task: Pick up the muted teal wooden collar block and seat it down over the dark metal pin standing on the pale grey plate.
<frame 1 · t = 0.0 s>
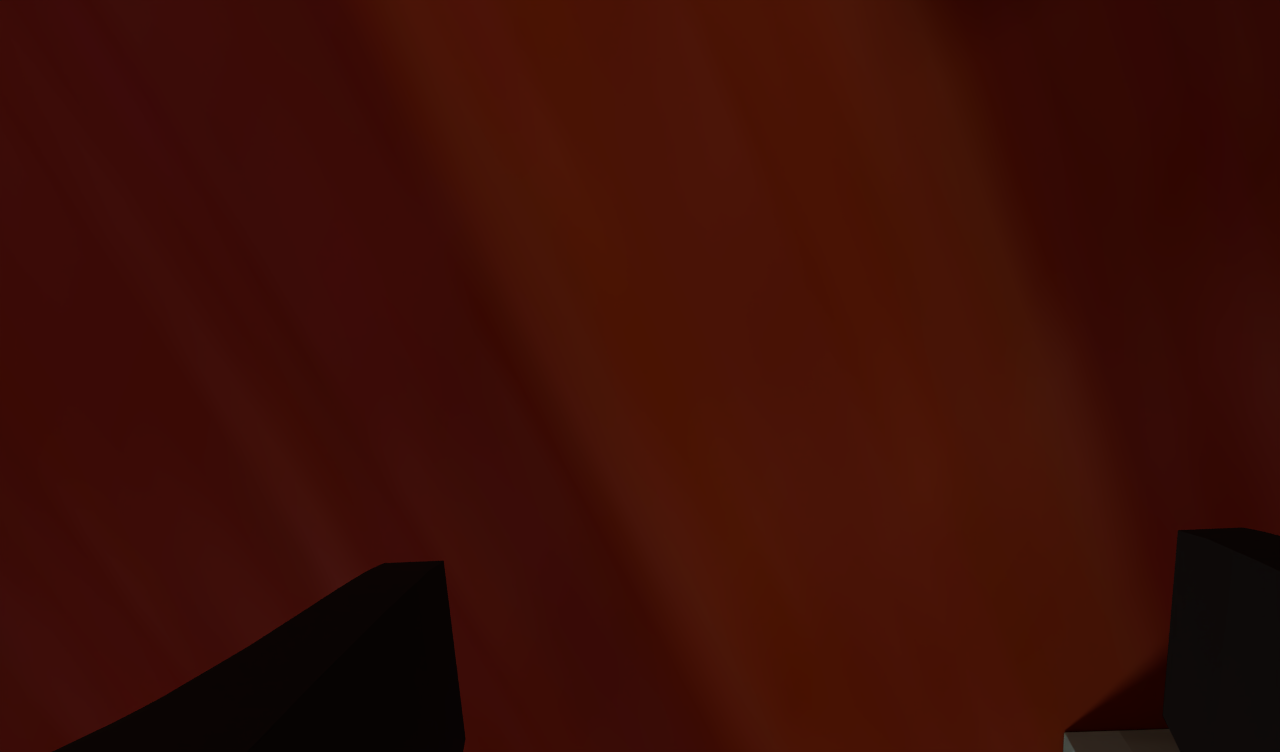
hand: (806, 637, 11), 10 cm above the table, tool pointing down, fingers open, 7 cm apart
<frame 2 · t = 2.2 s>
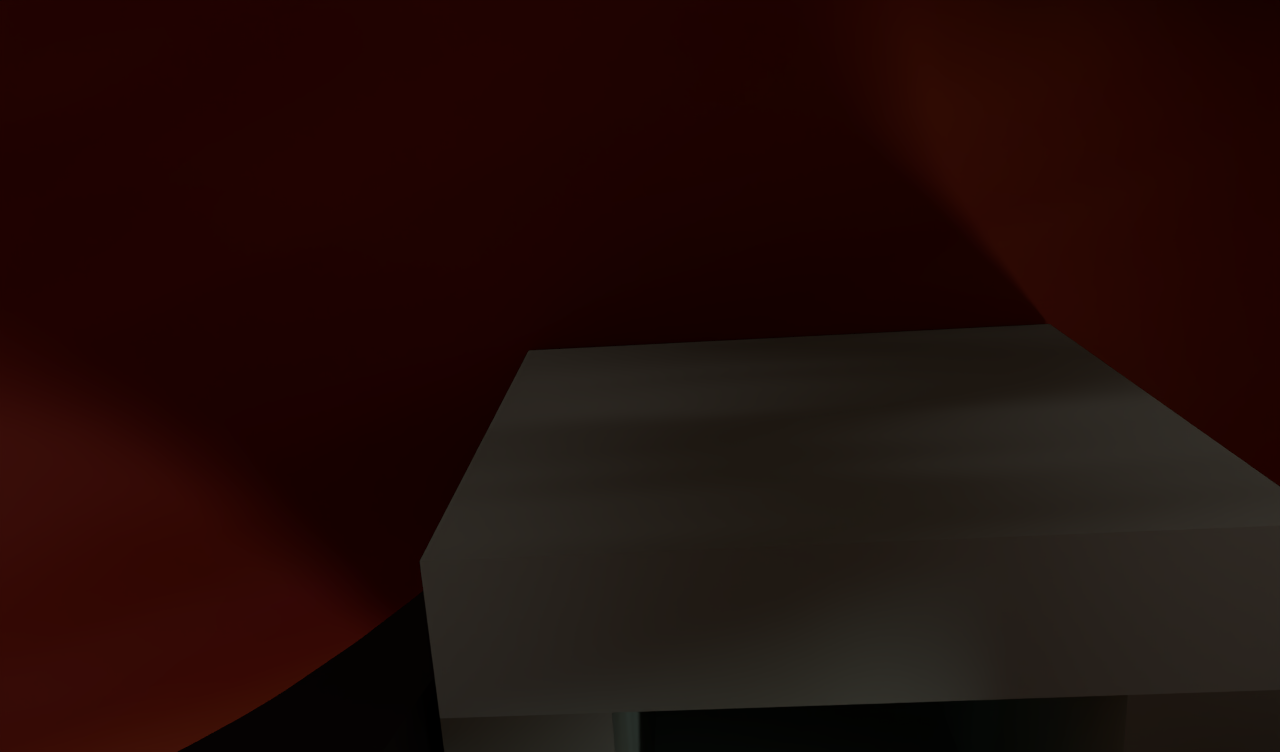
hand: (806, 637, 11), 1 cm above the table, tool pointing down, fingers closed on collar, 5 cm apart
collar: (791, 572, 12), on the table, touching gripper
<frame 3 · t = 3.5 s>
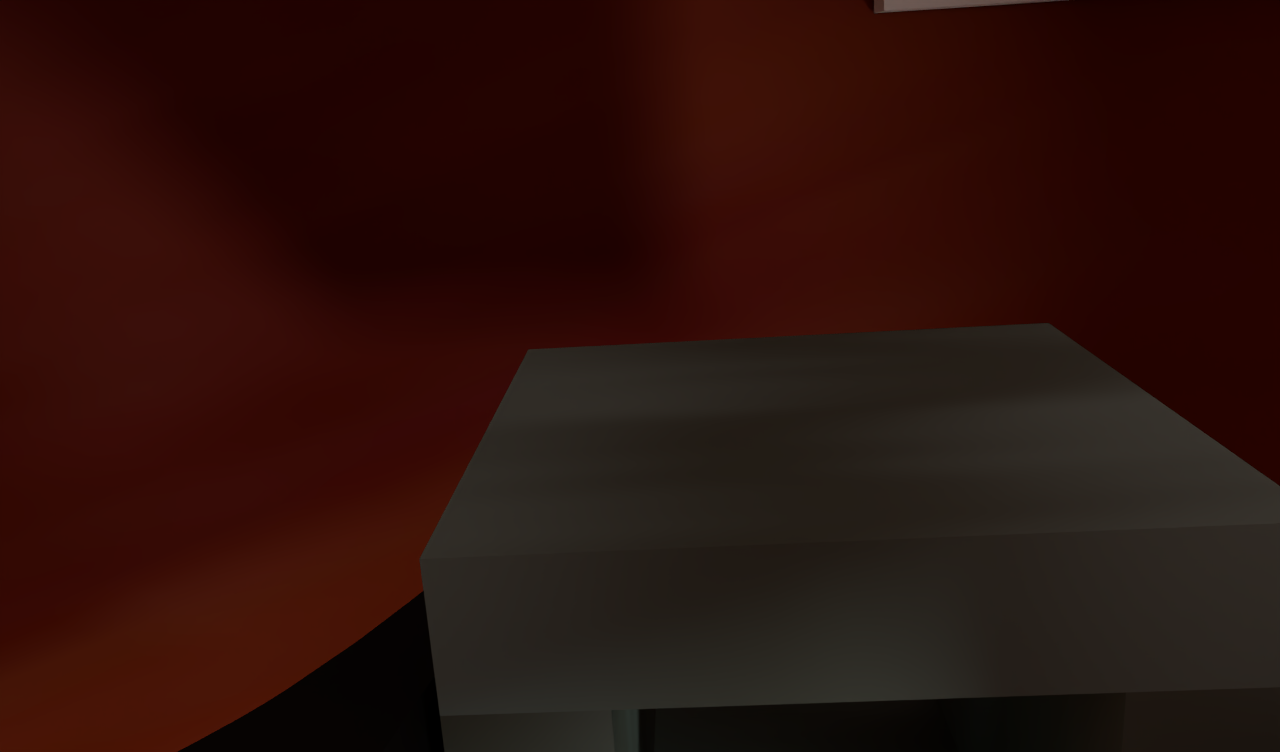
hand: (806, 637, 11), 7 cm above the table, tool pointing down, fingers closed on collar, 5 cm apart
collar: (791, 571, 12), point 6 cm above the table, touching gripper
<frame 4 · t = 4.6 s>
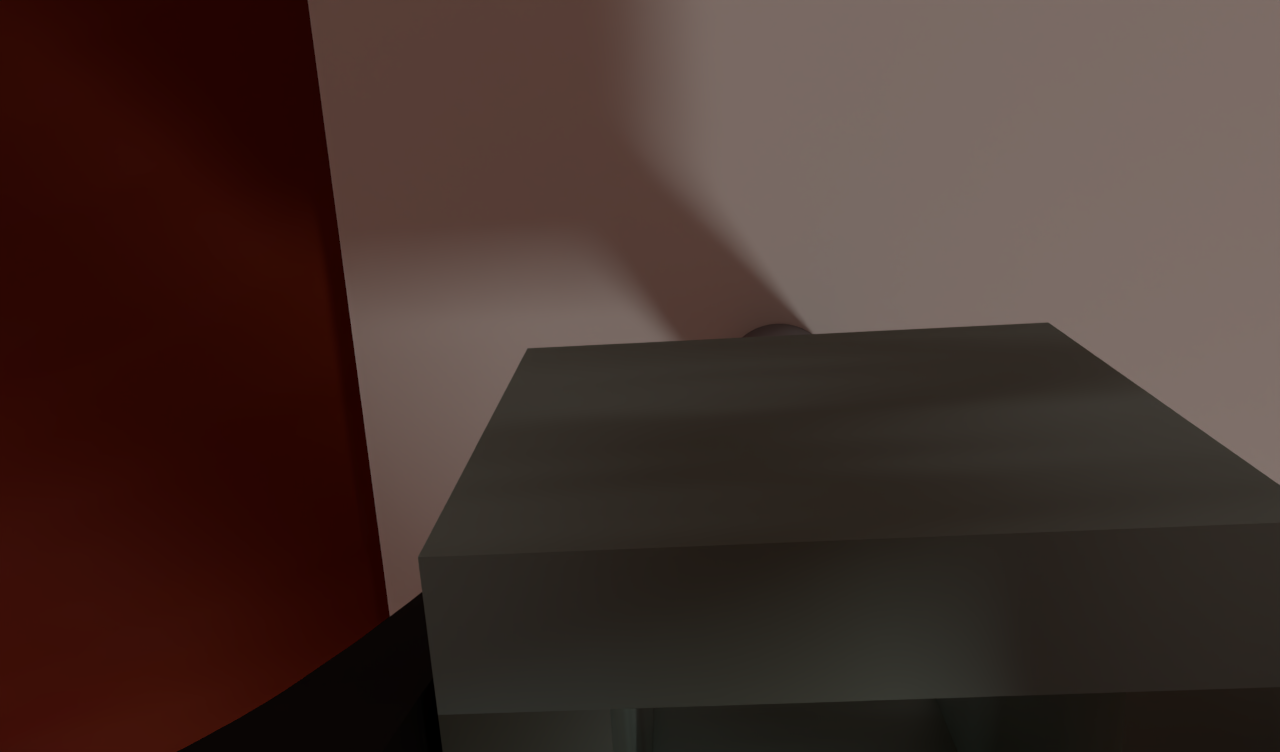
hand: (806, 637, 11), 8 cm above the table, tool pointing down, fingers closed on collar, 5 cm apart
collar: (790, 571, 12), point 7 cm above the table, touching gripper
pin plate: (773, 363, 19), on the table
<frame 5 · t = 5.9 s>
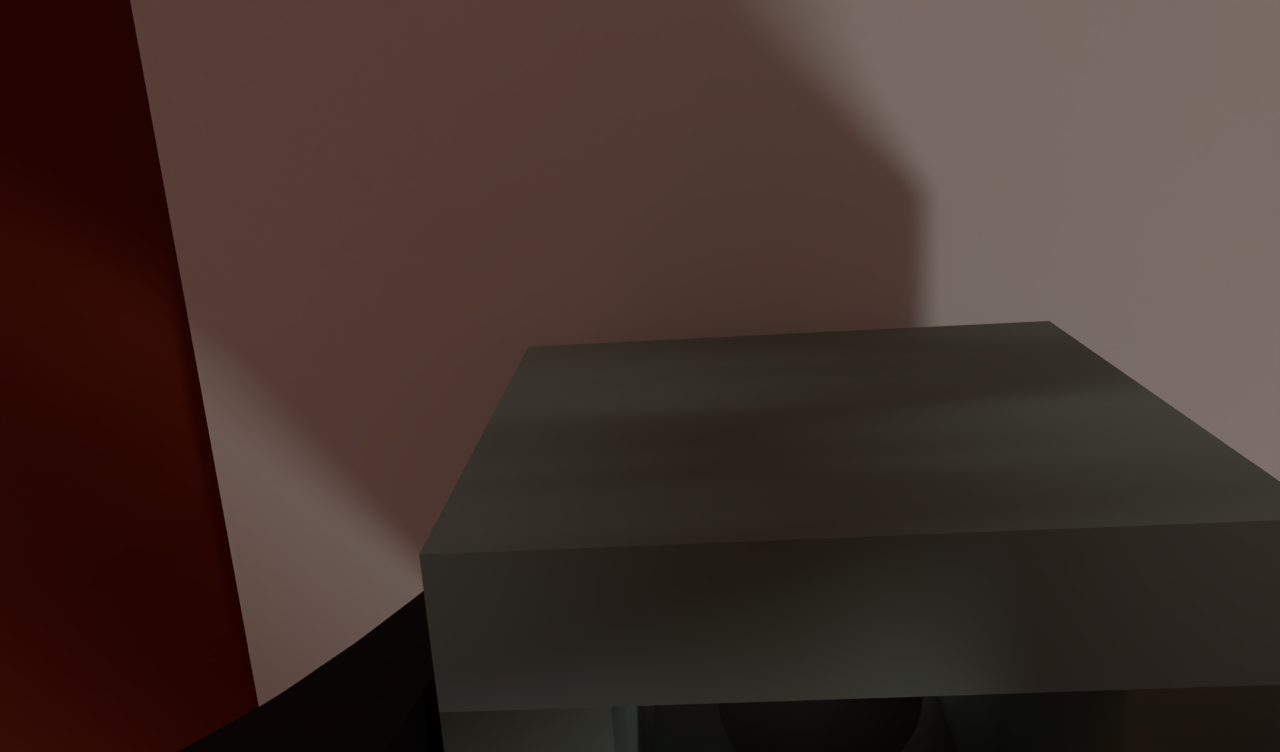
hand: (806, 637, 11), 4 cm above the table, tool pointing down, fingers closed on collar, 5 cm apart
collar: (791, 569, 12), point 2 cm above the table, touching gripper
pin plate: (774, 493, 14), on the table
when the fingers open (4 cm above the table, at t = 6.8 s): collar drops 1 cm, resting on pin plate.
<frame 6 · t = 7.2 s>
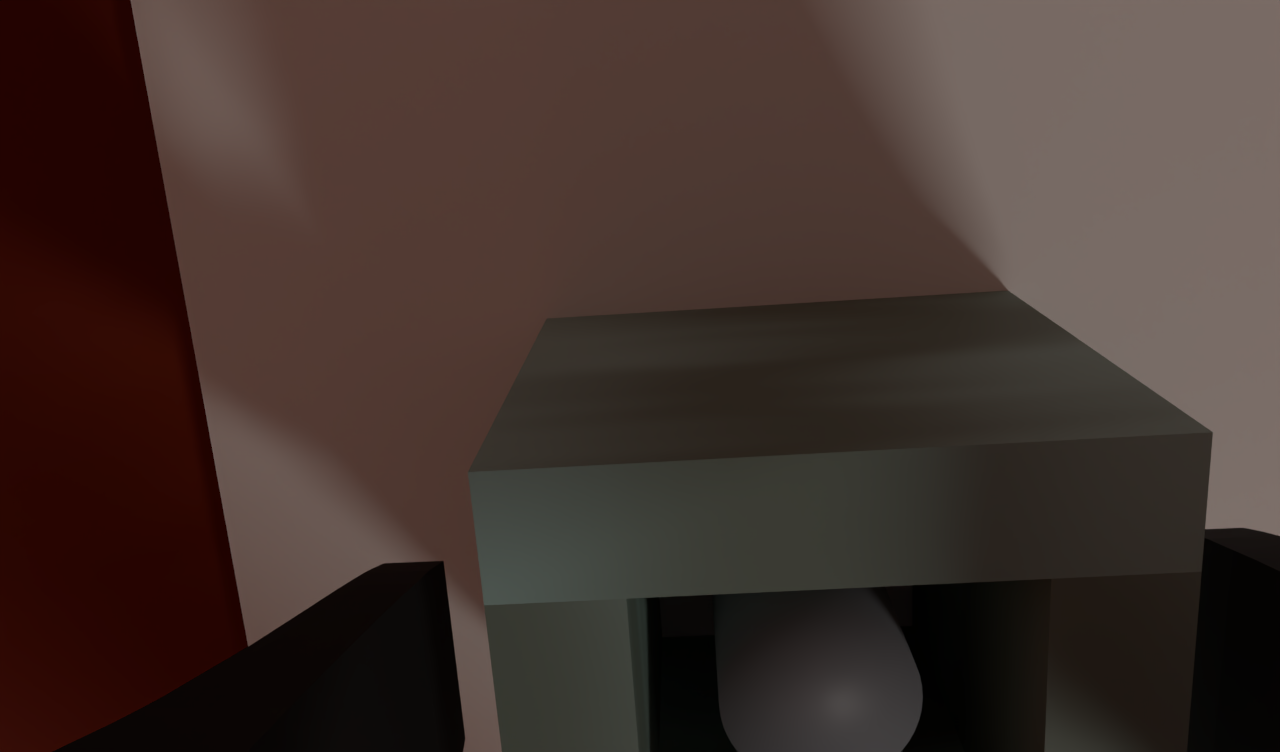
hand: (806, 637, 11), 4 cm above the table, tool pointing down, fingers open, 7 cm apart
collar: (782, 516, 13), point 1 cm above the table, touching pin plate
pin plate: (774, 493, 14), on the table
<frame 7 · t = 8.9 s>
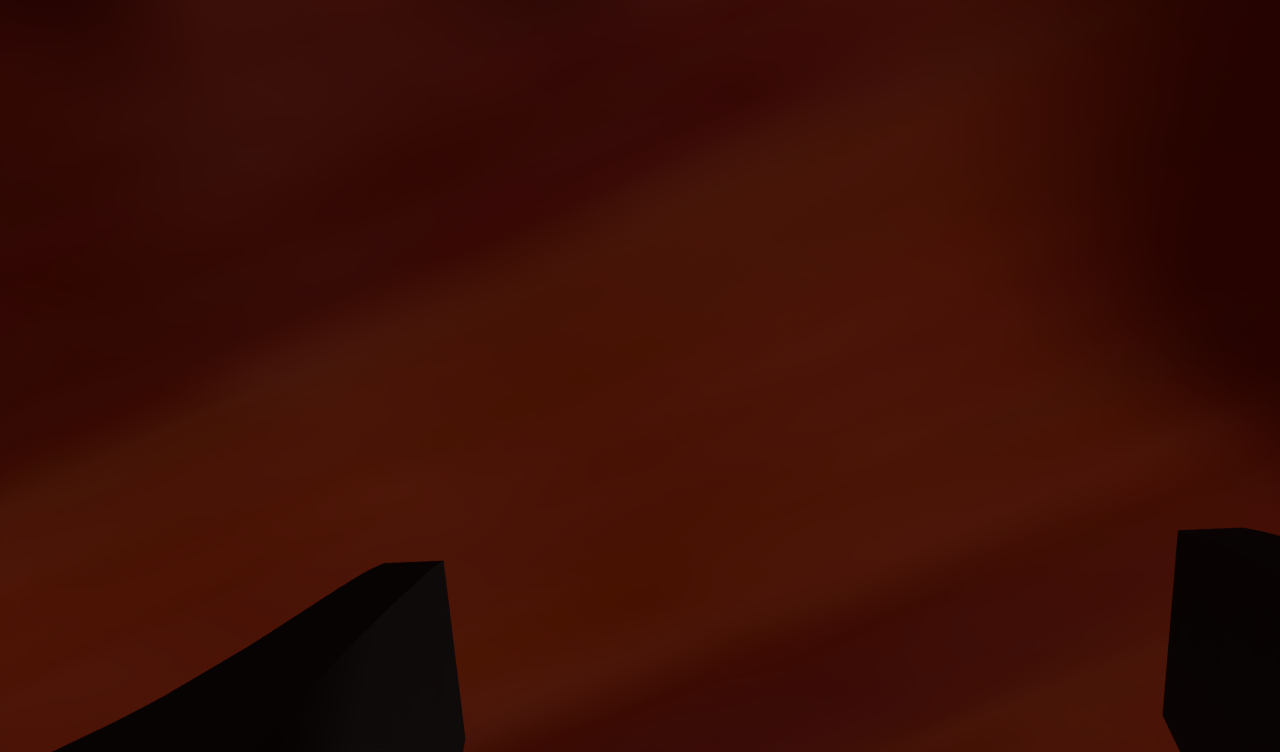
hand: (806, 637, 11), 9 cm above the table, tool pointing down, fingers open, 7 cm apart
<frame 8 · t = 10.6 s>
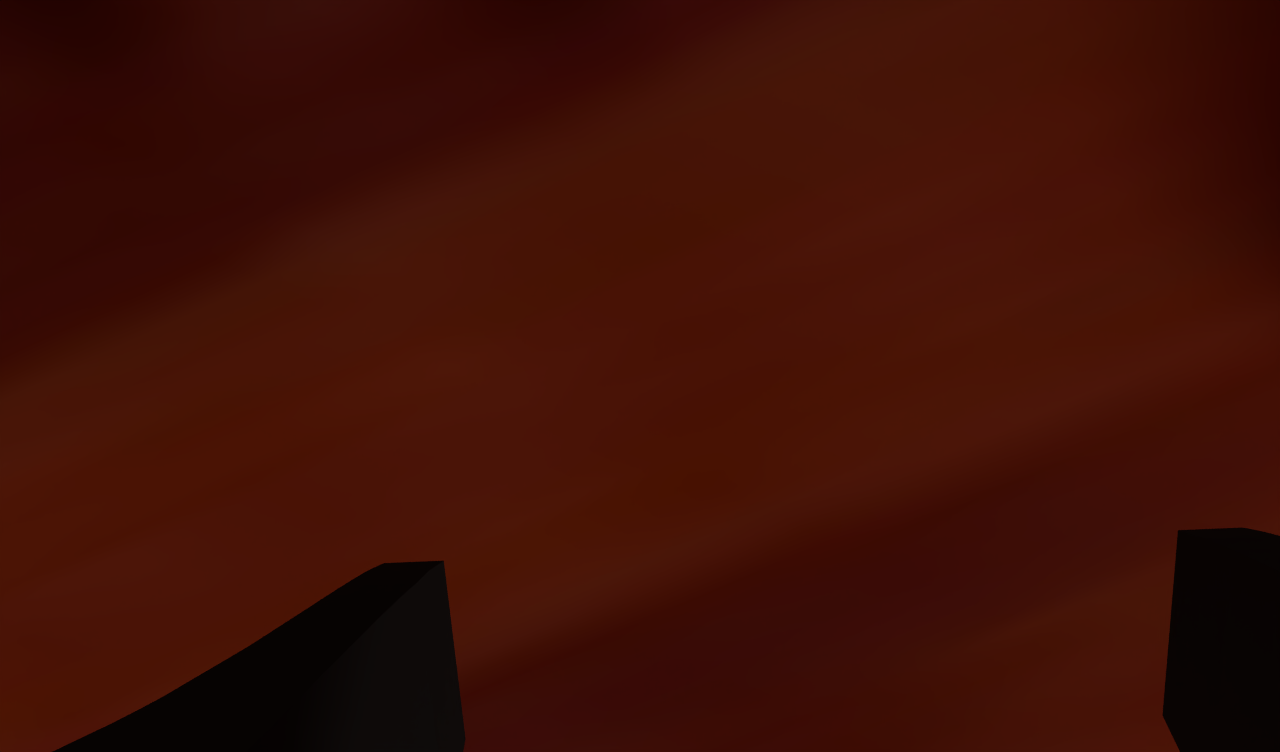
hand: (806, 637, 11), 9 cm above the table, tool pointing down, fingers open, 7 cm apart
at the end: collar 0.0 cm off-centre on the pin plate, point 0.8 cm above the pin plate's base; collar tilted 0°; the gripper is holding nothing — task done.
